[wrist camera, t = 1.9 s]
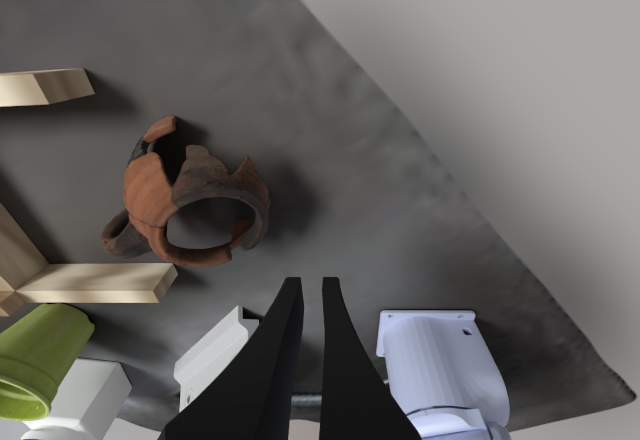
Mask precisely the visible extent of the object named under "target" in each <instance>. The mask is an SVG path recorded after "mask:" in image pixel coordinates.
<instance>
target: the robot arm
mask: <svg viewBox="0 0 640 440" xmlns="http://www.w3.org/2000/svg"><path fill="white" fill-rule="evenodd" d="M322 296H323V311H324V327H325V349H324V368H323V386H322V403H321V418H320V432H319V440H512V439H511V437H510V434H509V432H508V431H507V429H506V428H504V426H505V425H506V424H507V422H508V419H509V411H510V408H509V400H508V395H507V391H506V387H505V384H504V381H503V379H502V376H501V374H500V372H499V370H498V368H497V366H496V364H495V362H494V360H493V358H492V356H491V354H490V352H489V350H488V348H487V346H486V344H485V342H484V340H483V338H482V336H481V334H480V332H479V330H478V328H477V326H476V324H475V322H474V319H475V313H474V312H473V311H459V310H384V311H382V312H381V314H380V323H379V332H378V341H377V350H376V353H377V356H380V357H385V359H386V365H387V372H388V378H389V384H390V390H391V393H390V392H389V390H388V388H387V387H386V385H385V384H384V382H383V380H382V379H381V377H380V376H379V374H378V373H377V371H376V369H375V368H374V366H373V364H372V362H371V361H370V359H369V357H368V355H367V353H366V351H365V349H364V348H363V346H362V344H361V342H360V340H359V338H358V335H357V333H356V331H355V329H354V327H353V324H352V322H351V319H350V317H349V314H348V311H347V309H346V306H345V303H344V300H343V296H342V293H341V288H340V283H339V278H337V277H323V285H322ZM303 317H304V302H303V293H302V285H301V277H287V278H286V279H285V281H284V283H283V285H282V287H281V289H280V291H279V293H278V295H277V296H276V298H275V300H274V302H273V304H272V305H271V307H270V308H269V310H268V312H267V313H266V315H265V317H264V318H263V320H262V321H261V323H260V324H259V326H258V327H257V328H256V330H255V331H254V333H253V334H252V336H251V337H250V338H249V340H248V341H247V342H246V344H245V345H244V346H243V347H242V349H241V350H240V351H239V352H238V354H237V355H236V356H235V357H234V358H233V359H232V361H231V362H230V363H229V364H228V365H227V366H226V368H225V369H224V370H223V371H222V372H221V373H220V374H219V375H218V376H217V377H216V378H215V379H214V380H213V381H212V382H211V383H210V384H209V385H208V386H207V387H206V388H205V389H204V390H203V391H202V392H201V393H200V394H199V395H198V396H197V397H196V398H195V399H194V400H193V401H192V402H191V403H190V404H189V405H188V406H187V407H185V408H184V409H183V410H182V411H181V412H180V413H179V414H178V415H177V416H175V417H174V418H173V419H172V420H171V421H170V422H169V423H168V424H166V425H165V427H164V429H163V431H162V432H161V434H160V436H159V438H158V439H157V440H288V434H289V421H290V410H291V399H292V388H293V381H294V375H295V369H296V364H297V358H298V352H299V347H300V341H301V335H302V330H303Z"/></svg>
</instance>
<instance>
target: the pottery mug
mask: <svg viewBox="0 0 640 440" xmlns="http://www.w3.org/2000/svg"><path fill="white" fill-rule="evenodd" d="M176 121H177V118H176V117H175V116H173V115H171V116H168V117H165V118H163V119H161V120H159V121H158V122H156V123H155V124H154V125H153V126H151V127H150V128H149V130H148V131H146V133H145V134H144V136H143V137H141V138H140V139H139V141H138V142H137V145H136V147H135V149H134V150H133V152H132V156H131V158H130V160H129V163H128V166H127V170H126V172H125V176H124V191H123V198H124V204H125V206H126V208H125V209H124V210H123V211H121V212H120V213H119V214H118V215H116V216H115V217H114V218H113V219H112V221H111V222H110V223H109V224H108V225H107V226H106V228H105V229H104V231H103V232H102V235H101V239H102V246H103V248H104V249H105V251H106V252H107V253H108V254H110V255H114V256H117V257H119V258H122V259H128V258H134V257H138V256H140V255H142V254H144V253H147V252H149V251H154V252H155V253H156V254H157V255H158V256H160V257H161V258H162V259H164V260H166V261H168V262H170V263H174V264H176V265H181V266H187V267H205V266H208V267H209V266H214V265H219V264H223V263H226V262H229V261H231V260H232V254H231V249H233V248H236V247H238V246H239V245H241V247H242V250H244V251H246V250H249V249H253V248H254V247H255V246H256V245H257V244H259V242H260V241H261V240H262V238H263V237H264V235H265V234H266V231H267V229H268V226H269V218H268V217H269V213H268V211H269V207H270V195H268V193H269V189H268V187H267V185H266V184H265V183H264V182H263V180H262V179H261V178H260V176H259V174H258V173H257V171H256V169H255V167H254V164H253V163H252V161H251V159H250V158H249V156H248V155H246V156H245V157H244V160H243V162H242V164H241V165H240V166H239V167H238V168H237V169H236V170H235V171H234V172H233V173H232V174H231V175H229V173H228V171H227V168H226V166H225V165H224V164H223V163H222V161H221V160H219V159H218V158H217V157H215V156H213V155H212V154H211V153H210V152H209V150H208V149H207V148H206V147H204V146H199V145H189V146H187V147H186V157H187V160H186V161H185V162H184V163H183V165H182V168H181V171H180V174H179V176H178V178H177V180H176V182H175V184H174V185H173V184H172V183H171V182H170V180H169V179H168V177H167V175H166V172H165V169H164V164H163V161H162V159H161V157H160V156H158V154H157V153H154V152H149V153H147V148H148V146H149V144H150V143H152V142H153V141H155V140H156V139H158V138H160V137H162V136H164V135H166V134H169V133H171V132H173V131H175V129H176V127H175V123H176ZM215 197H229V198H236V199H239V200H241V201H243V202H245V203H247V204H248V205H250V206H251V207H252V208H253V209H254V210H255V212H256V219H255V221H254V222H252V223H251V222H250V221H248V220H247V219H245V218H244V219H242V220H240V221H239V222H238V223H237V224H236V225H235V226H234V227H233V228H232V229H231V231H230V233H231V236H232V240H231V242H229V243H226V244H224V245H221V246H217V247H212V248H206V249H187V248H181V247H176V246H174V245H172V244H170V243H169V242H168V239H167V224H168V220H169V219H170V217H171V216H172V215H173V214H175V213H176V212H177V211H178V210H179V209H180V208H181V207H183V206H185V205H188V204H190V203H192V202H195V201H198V200H201V199H206V198H215Z"/></svg>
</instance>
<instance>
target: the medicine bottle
mask: <svg viewBox="0 0 640 440" xmlns="http://www.w3.org/2000/svg"><path fill="white" fill-rule="evenodd" d="M131 390H132V386H131V384H130V382H129V380H128V378H127V376H126V374H125V372H124V370H123V368H122V367H121V365H120V363H119V362H111V361H102V360H93V359H84V358H76V360H75V362H74V363H73V365H72V367H71V368H70V370H69V371H68V373H67V375H66V376H65V378H64V379H63V381H62V383H61V384H60V386H59V387H58V392H57V394H56V396H55V398H54V400H53V401H52V403H51V406H52V409H51V412H50V413H49V415H48V416H47V417H45V418H44V419H41V420H35V421H23V422H24V423H25V424H26V425H27V426H28V427H29V428H31V429H32V430H31V431H29V432H26V433H25V434H24V435H23V437H22V438H21V439H20V440H102V439H103V438H104V436H105V434H106V432H107V431H108V429H109V427H110V426H111V424H112V422H113V420H114V419H115V417H116V415H117V414H118V412H119V410H120V408H121V407H122V405H123V403H124V402H125V400H126V398H127V396H128V395H129V393H130V391H131Z"/></svg>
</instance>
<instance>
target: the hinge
mask: <svg viewBox="0 0 640 440" xmlns="http://www.w3.org/2000/svg"><path fill="white" fill-rule="evenodd" d="M258 326H259V320H254V319H243V311H242V306H239V305H238V306H237V307H236V308H235V309H233V310H232V311H231V312H230V313H229V314H228V315H227V316H226V317H225V318H224V319H222V320H221V321H220V322H219V323H218V324H217V325H216V326H215V327H214V328H213V329H212V330H210V331H209V332H208V333H207V334H206V335H205V336H204V337H203V338H202V339H201V340H199V341H198V342H197V343H196V344H195V345H194V346H193V347H192V348H191V349H190V350H189V351H187V352H186V353H185V354H184V355H183V356H182V357H181V358H180V359H179V360H178V361H176V362H175V369H174V378H175V379H176V380H177V381H178V382H179V383H180V385H181V395H180V412H181V411H182V410H183V409H184V408H185V407H187V406H188V405H189V404H190V403H191V402H192V401H193V400H194V399H195V398H196V397H197V396H198V395H199V394H200V393H201V392H202V391H203V390H204V389H205V388H206V387H207V386H208V385H209V384H210V383H211V382H212V381H213V380H214V379H215V378H216V377H217V376H218V375H219V374H220V373H221V372H222V371H223V370H224V369H225V368H226V366H227V365H228V364H229V363H230V362H231V361H232V359H233V358H234V357H235V356H236V355H237V354H238V352H239V351H240V350H241V349H242V347H243V346H244V345H245V344H246V342H247V341H248V340H249V338H250V337H251V336H252V334H253V333H254V331H255V330H256V328H257V327H258ZM180 412H179V413H180Z"/></svg>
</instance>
